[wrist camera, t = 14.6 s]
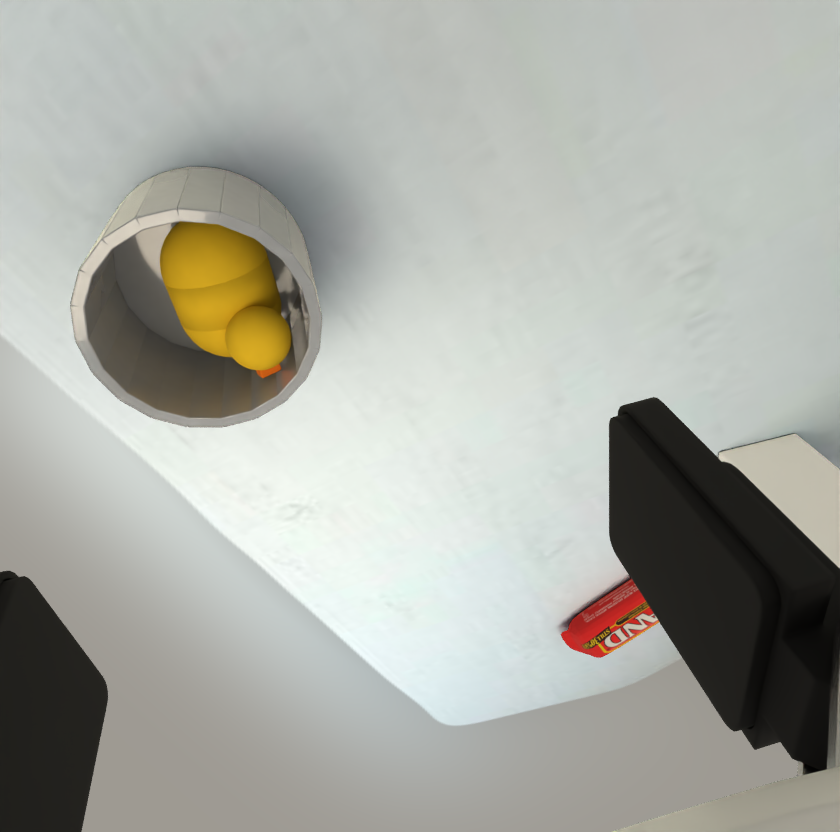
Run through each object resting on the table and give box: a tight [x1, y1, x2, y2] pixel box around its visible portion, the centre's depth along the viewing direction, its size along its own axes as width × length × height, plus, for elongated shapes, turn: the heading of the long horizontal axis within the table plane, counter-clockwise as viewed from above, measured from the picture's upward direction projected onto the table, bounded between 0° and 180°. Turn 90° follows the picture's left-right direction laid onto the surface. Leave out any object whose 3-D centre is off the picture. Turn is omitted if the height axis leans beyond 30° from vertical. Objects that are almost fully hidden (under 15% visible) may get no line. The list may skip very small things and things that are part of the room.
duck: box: [160, 221, 291, 378], centre depth 29 cm, size 7×5×6 cm
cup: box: [70, 167, 322, 427], centre depth 29 cm, size 9×9×7 cm
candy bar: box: [561, 579, 659, 658], centre depth 51 cm, size 16×4×3 cm, turn 128°
